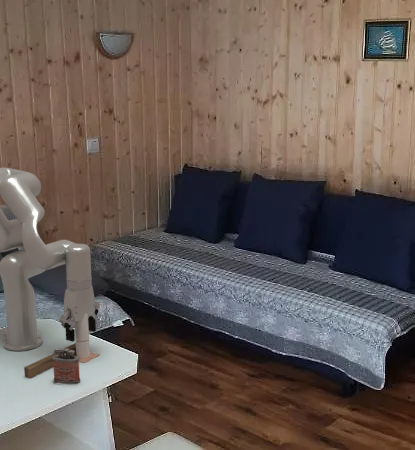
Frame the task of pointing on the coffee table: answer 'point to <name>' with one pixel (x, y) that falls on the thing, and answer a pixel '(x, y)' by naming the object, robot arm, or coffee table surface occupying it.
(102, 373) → the coffee table surface
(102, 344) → the coffee table surface
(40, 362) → the walnut straightedge
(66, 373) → the lighter
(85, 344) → the tube
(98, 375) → the coffee table surface
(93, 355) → the end pad
